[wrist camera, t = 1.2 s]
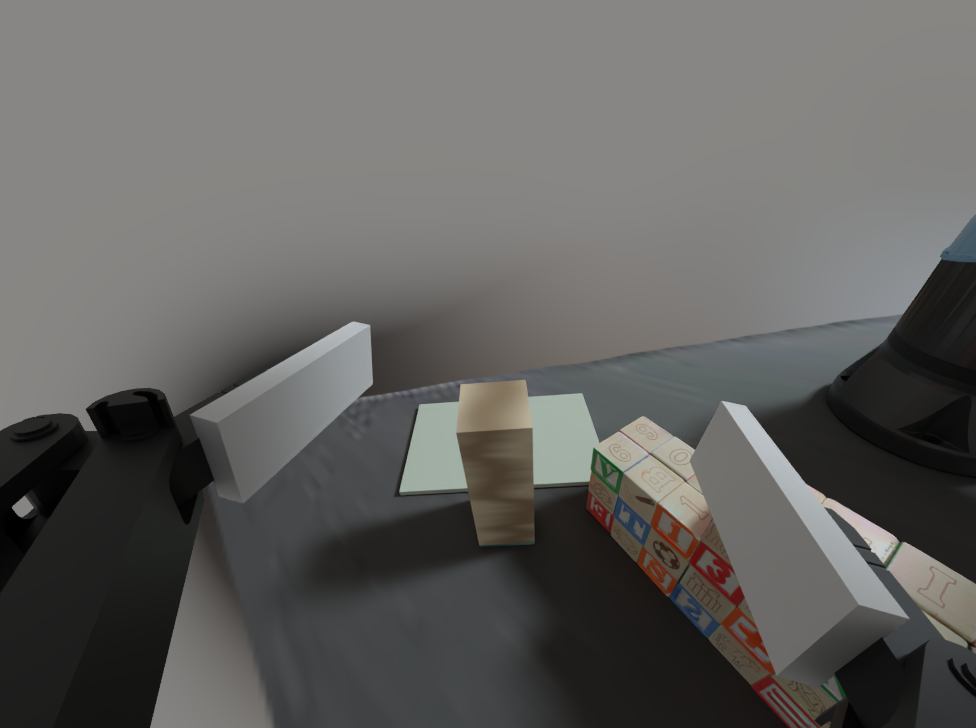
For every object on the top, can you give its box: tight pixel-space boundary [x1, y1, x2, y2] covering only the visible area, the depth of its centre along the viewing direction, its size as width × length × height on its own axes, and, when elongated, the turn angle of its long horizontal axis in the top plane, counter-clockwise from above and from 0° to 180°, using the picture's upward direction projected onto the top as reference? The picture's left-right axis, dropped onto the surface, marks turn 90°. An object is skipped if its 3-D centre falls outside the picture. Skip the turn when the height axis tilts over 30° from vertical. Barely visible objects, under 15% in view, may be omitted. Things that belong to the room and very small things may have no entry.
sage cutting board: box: [399, 393, 599, 495], centre depth 41 cm, size 22×14×1 cm, turn 90°
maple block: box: [456, 380, 535, 547], centre depth 29 cm, size 5×5×15 cm
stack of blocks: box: [586, 416, 976, 728], centre depth 23 cm, size 21×6×12 cm, turn 31°
